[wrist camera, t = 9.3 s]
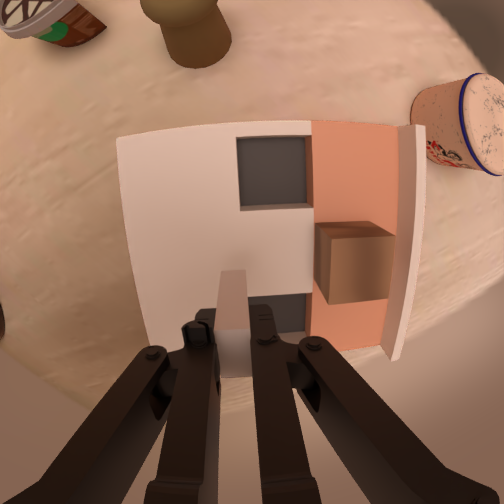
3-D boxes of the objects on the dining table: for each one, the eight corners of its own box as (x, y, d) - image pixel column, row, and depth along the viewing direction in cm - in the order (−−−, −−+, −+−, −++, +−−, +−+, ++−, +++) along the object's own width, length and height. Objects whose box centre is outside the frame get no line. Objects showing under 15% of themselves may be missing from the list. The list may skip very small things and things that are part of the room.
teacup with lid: (404, 158, 25) (484, 166, 14) (407, 75, 22) (481, 48, 11) (480, 179, 26) (552, 197, 15) (483, 108, 23) (553, 105, 12)
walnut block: (313, 278, 25) (328, 305, 21) (314, 222, 24) (331, 239, 19) (365, 274, 25) (388, 298, 21) (369, 220, 24) (395, 235, 19)
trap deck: (161, 344, 31) (147, 379, 25) (128, 139, 24) (100, 136, 18) (378, 329, 31) (399, 359, 25) (391, 129, 24) (425, 125, 18)
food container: (30, 30, 18) (-19, 10, 9) (65, -7, 17) (22, -39, 8) (72, 77, 21) (13, 56, 12) (114, 33, 20) (66, -7, 11)
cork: (238, 59, 22) (234, 2, 12) (173, 76, 22) (131, 31, 12) (224, 10, 20) (215, -57, 10) (162, 26, 20) (124, -31, 10)
